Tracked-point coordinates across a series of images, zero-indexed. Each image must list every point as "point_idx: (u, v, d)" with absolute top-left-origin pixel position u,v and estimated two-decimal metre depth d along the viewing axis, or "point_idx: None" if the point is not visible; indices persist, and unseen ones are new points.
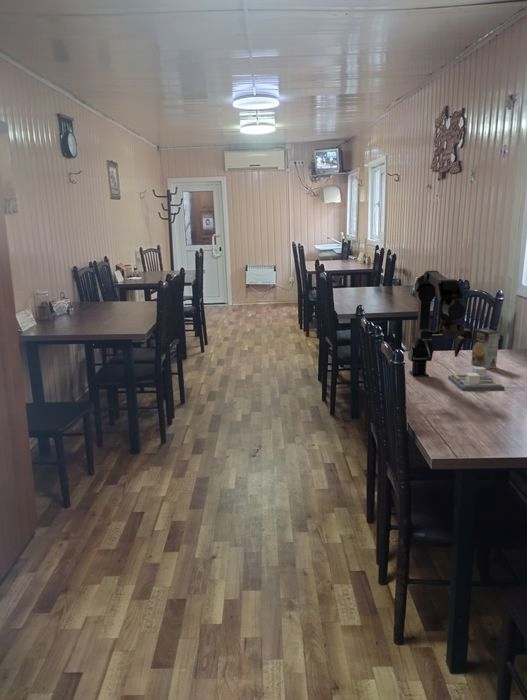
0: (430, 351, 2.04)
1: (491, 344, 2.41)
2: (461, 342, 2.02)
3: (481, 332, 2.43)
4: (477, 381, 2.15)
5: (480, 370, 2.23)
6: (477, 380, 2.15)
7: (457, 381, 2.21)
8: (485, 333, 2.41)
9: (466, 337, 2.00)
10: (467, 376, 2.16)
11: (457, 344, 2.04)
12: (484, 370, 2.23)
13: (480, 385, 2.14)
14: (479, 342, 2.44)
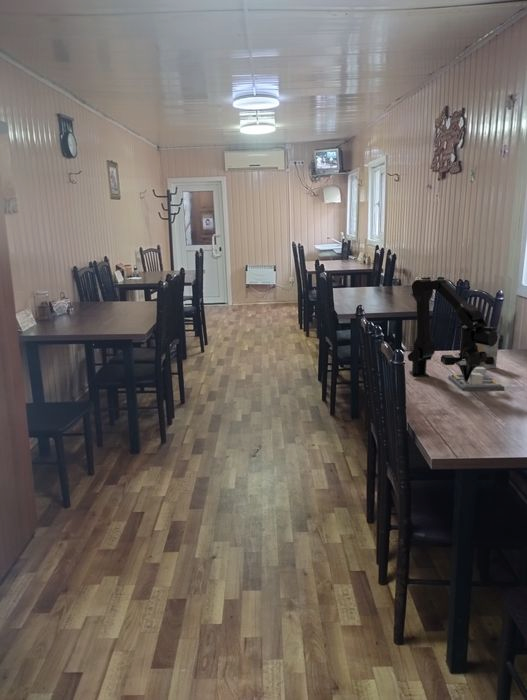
0: (465, 376, 2.15)
1: None
2: (471, 368, 2.13)
3: None
4: (480, 381, 2.15)
5: (480, 370, 2.23)
6: (480, 380, 2.15)
7: (457, 381, 2.21)
8: None
9: (488, 363, 2.12)
10: (470, 376, 2.16)
11: (467, 369, 2.15)
12: (484, 370, 2.23)
13: (480, 385, 2.14)
14: None
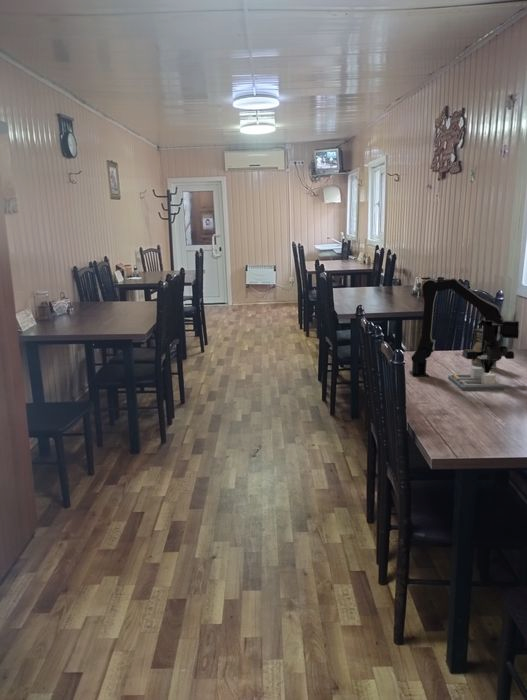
0: (486, 369, 2.24)
1: None
2: (492, 362, 2.22)
3: (481, 332, 2.43)
4: (493, 381, 2.15)
5: (478, 370, 2.23)
6: (493, 380, 2.15)
7: (457, 381, 2.21)
8: None
9: (508, 357, 2.21)
10: (483, 376, 2.16)
11: (488, 363, 2.24)
12: (482, 370, 2.23)
13: (480, 385, 2.14)
14: (479, 342, 2.44)
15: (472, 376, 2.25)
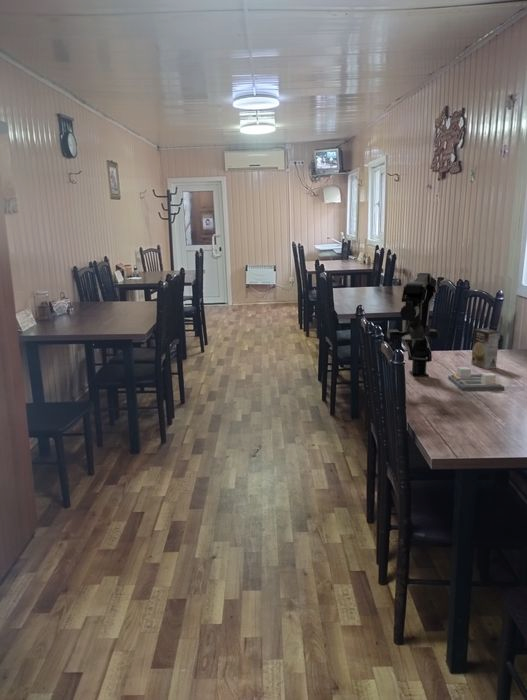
0: (410, 350, 2.16)
1: (491, 344, 2.41)
2: (416, 342, 2.14)
3: (481, 332, 2.43)
4: (493, 381, 2.15)
5: (465, 370, 2.23)
6: (493, 380, 2.15)
7: (457, 381, 2.21)
8: (485, 333, 2.41)
9: (432, 337, 2.13)
10: (483, 376, 2.16)
11: (413, 344, 2.16)
12: (469, 370, 2.23)
13: (480, 385, 2.14)
14: (479, 342, 2.44)
15: (459, 376, 2.25)
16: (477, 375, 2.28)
